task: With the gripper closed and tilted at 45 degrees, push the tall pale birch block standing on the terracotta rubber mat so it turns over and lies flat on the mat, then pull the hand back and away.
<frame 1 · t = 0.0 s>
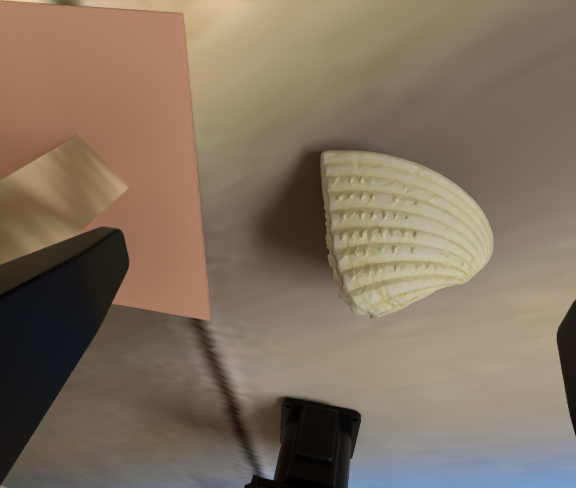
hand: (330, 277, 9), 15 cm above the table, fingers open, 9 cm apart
seashell: (402, 206, 24), on the table
birch block: (76, 185, 27), resting on rubber mat
rubber mat: (66, 180, 27), on the table
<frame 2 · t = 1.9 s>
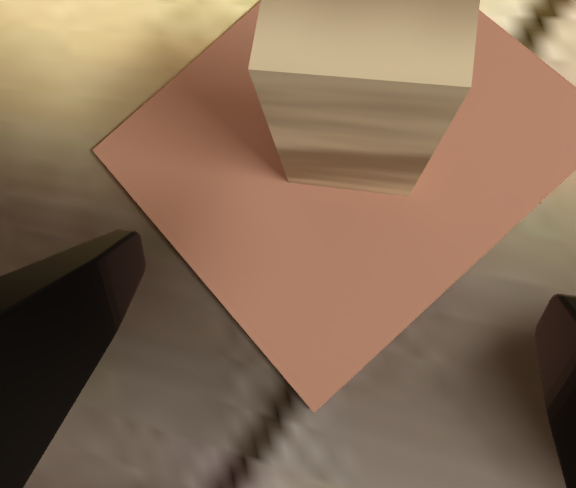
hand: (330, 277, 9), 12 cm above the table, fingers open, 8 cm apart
birch block: (352, 151, 22), resting on rubber mat
rubber mat: (339, 141, 22), on the table
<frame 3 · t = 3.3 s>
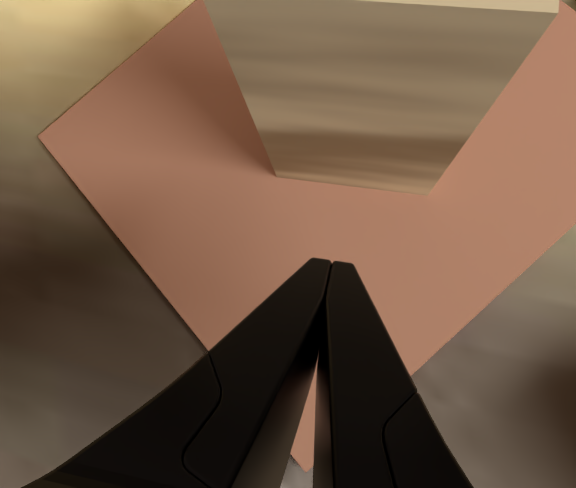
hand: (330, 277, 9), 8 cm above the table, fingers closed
birch block: (357, 139, 17), resting on rubber mat
rubber mat: (340, 127, 18), on the table
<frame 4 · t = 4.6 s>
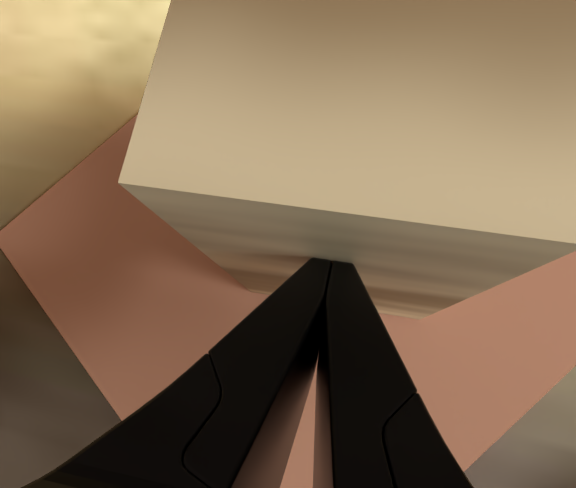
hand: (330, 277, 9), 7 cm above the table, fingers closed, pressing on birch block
birch block: (341, 251, 16), point 1 cm above the table, touching gripper, rubber mat
rubber mat: (323, 234, 16), on the table
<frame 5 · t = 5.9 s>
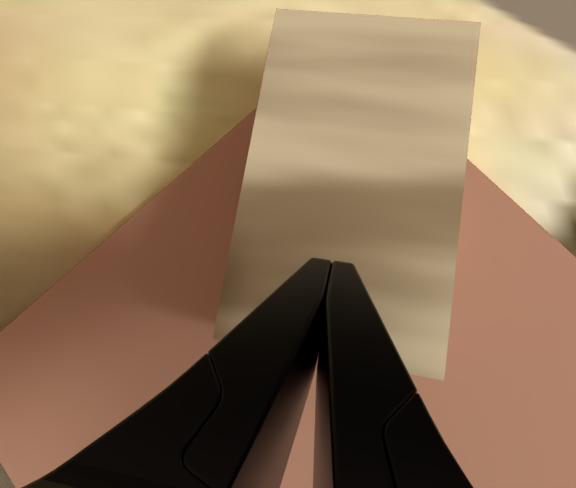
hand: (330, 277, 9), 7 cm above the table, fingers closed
birch block: (325, 353, 13), point 2 cm above the table, tilted 90°, touching rubber mat
rubber mat: (299, 385, 15), on the table
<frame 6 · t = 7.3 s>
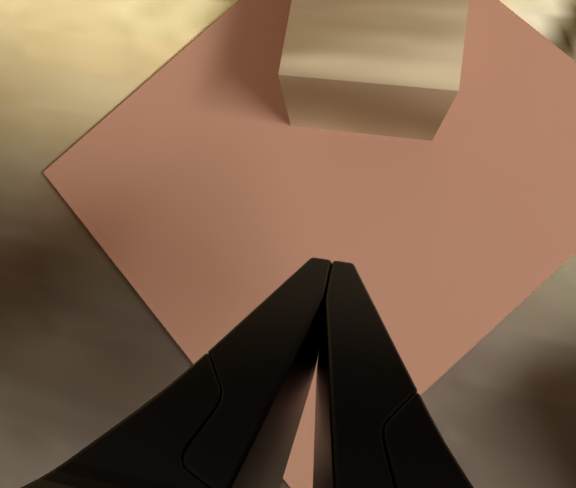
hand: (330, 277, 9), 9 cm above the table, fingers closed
birch block: (362, 110, 16), point 2 cm above the table, tilted 90°, touching rubber mat
rubber mat: (336, 165, 18), on the table
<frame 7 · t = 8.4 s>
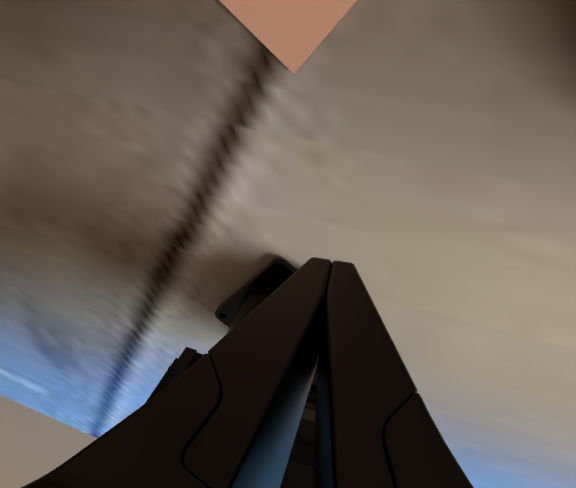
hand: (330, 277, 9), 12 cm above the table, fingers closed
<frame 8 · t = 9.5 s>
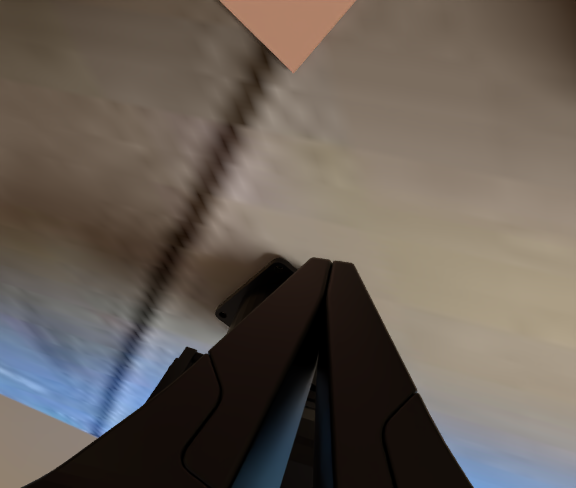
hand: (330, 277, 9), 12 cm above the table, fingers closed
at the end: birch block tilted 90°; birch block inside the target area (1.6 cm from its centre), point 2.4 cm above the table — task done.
